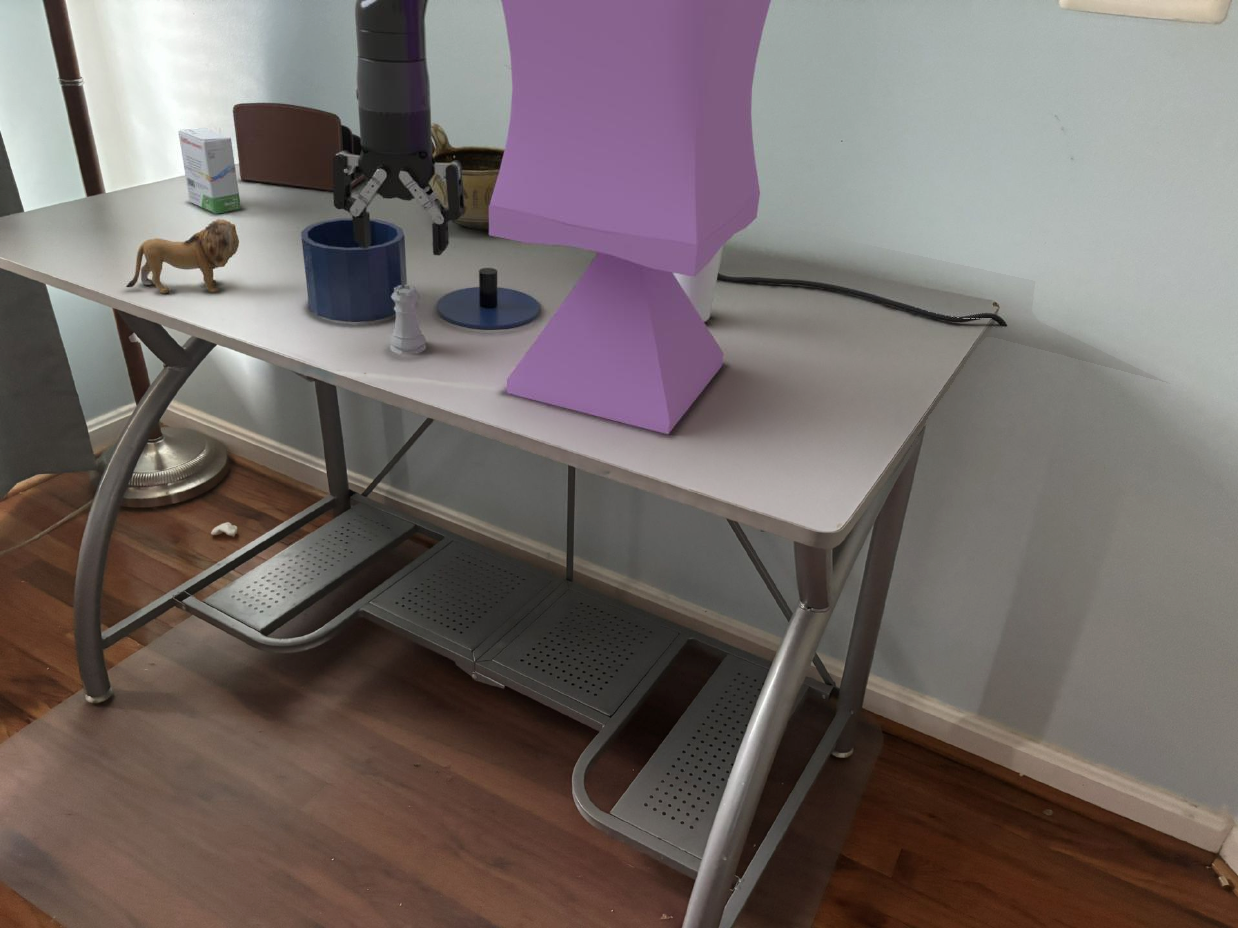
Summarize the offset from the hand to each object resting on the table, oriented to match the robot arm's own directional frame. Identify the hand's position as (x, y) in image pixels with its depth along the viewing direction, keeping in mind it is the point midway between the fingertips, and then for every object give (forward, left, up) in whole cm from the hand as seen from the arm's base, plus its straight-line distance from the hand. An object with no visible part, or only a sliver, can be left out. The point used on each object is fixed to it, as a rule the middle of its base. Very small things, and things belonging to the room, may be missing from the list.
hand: (401, 250), depth 110 cm
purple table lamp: (-26, +2, -13) cm, 29 cm away
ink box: (+46, -48, -13) cm, 68 cm away
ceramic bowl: (+2, -51, -13) cm, 53 cm away
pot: (+10, -12, -13) cm, 20 cm away
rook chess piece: (0, 0, -13) cm, 13 cm away
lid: (-7, -14, -12) cm, 20 cm away
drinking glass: (-34, -19, -13) cm, 41 cm away
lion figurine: (+33, -13, -13) cm, 38 cm away
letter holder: (+38, -67, -13) cm, 78 cm away
